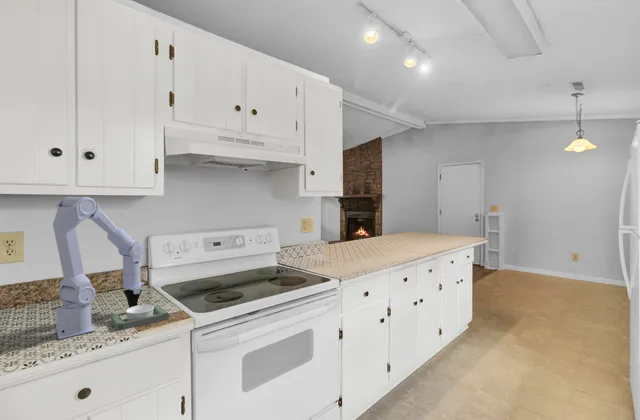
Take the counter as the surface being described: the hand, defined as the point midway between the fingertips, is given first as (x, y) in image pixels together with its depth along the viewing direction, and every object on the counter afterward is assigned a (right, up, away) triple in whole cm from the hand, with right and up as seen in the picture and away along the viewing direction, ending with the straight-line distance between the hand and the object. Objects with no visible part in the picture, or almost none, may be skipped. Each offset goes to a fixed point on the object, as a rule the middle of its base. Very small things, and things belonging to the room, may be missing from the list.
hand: (132, 308), depth 131 cm
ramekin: (+7, -2, -8) cm, 11 cm away
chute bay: (+7, -2, -8) cm, 10 cm away
